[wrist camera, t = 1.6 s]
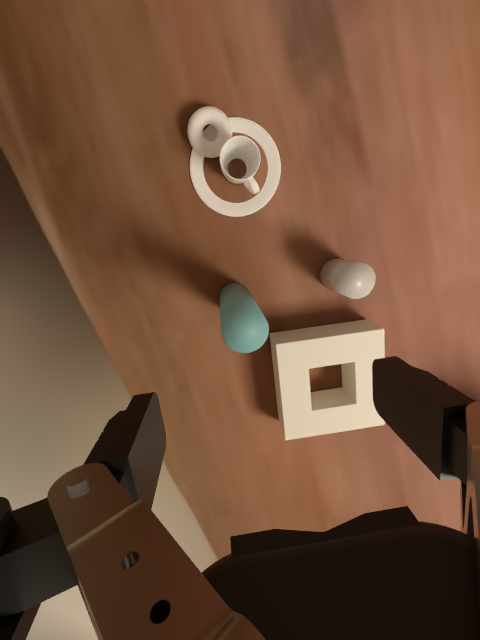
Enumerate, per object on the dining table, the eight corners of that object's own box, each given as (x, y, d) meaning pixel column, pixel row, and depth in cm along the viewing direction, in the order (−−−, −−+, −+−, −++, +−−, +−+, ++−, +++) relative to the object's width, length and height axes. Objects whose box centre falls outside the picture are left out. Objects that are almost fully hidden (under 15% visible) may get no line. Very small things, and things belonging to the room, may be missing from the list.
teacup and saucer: (177, 119, 27) (170, 98, 23) (268, 100, 27) (278, 76, 23) (202, 225, 29) (200, 223, 25) (286, 206, 29) (297, 201, 25)
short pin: (319, 260, 30) (339, 265, 25) (349, 256, 30) (375, 260, 25) (321, 291, 31) (340, 301, 26) (350, 287, 31) (375, 296, 26)
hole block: (269, 333, 32) (276, 344, 28) (366, 319, 32) (384, 328, 29) (278, 420, 34) (285, 440, 31) (368, 406, 35) (384, 424, 31)
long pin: (217, 285, 30) (218, 310, 19) (248, 280, 30) (266, 304, 19) (221, 315, 31) (224, 356, 20) (251, 311, 31) (271, 349, 20)
